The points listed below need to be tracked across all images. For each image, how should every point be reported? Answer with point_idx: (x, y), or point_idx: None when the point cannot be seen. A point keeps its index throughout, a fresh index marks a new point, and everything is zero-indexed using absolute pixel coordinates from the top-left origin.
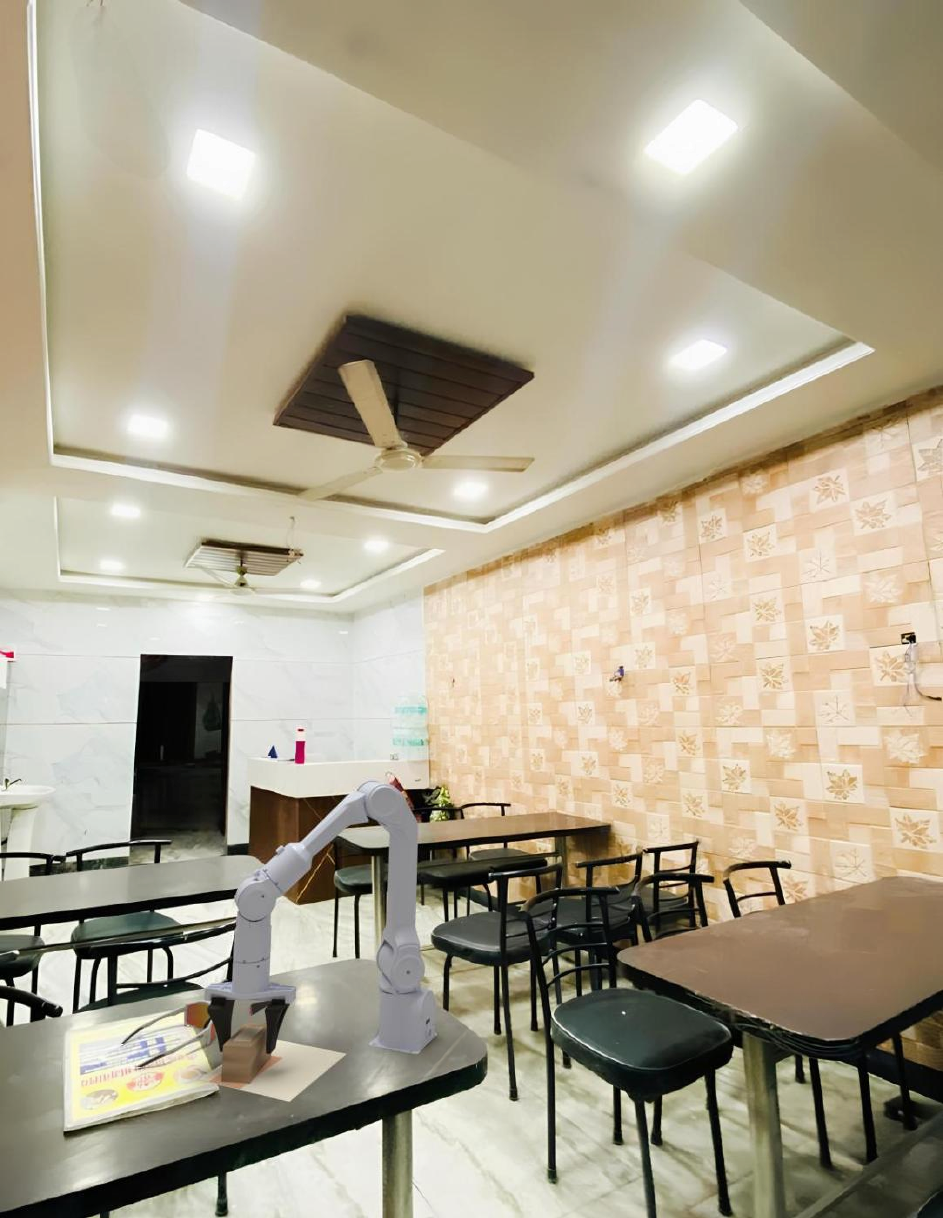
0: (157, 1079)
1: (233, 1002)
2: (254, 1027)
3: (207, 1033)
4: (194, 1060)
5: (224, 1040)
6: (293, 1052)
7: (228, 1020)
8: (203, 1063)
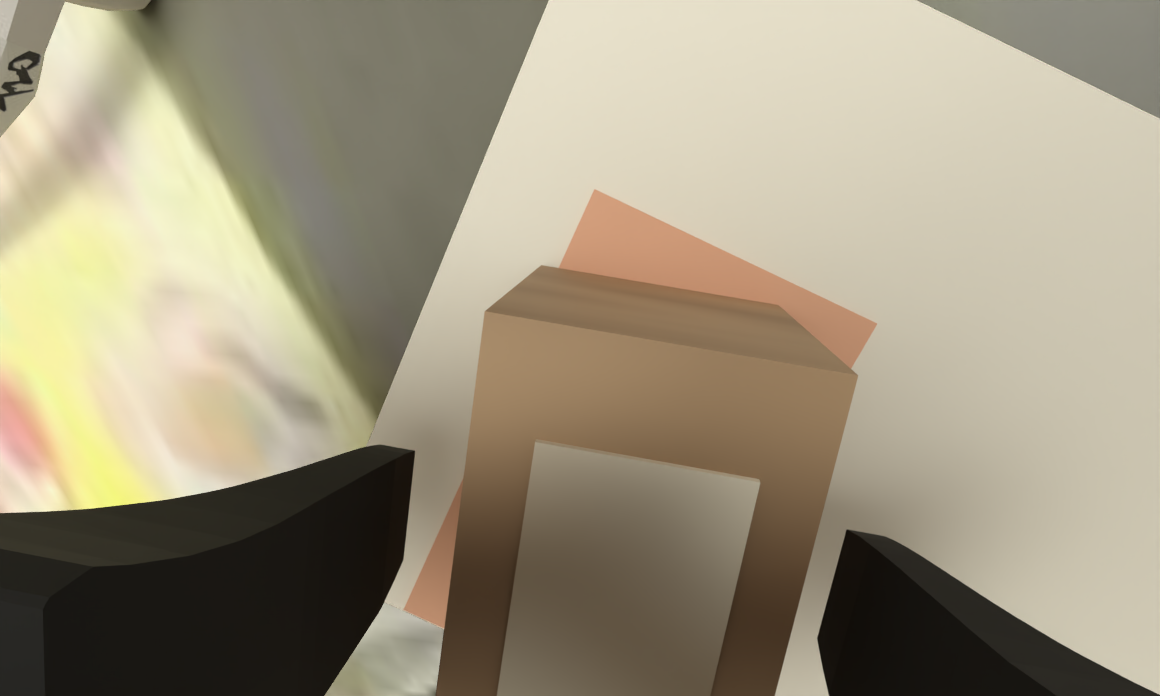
0: (30, 469)
1: (161, 621)
2: (642, 488)
3: (49, 11)
4: (144, 218)
5: (365, 601)
6: (970, 221)
7: (283, 621)
8: (236, 272)
